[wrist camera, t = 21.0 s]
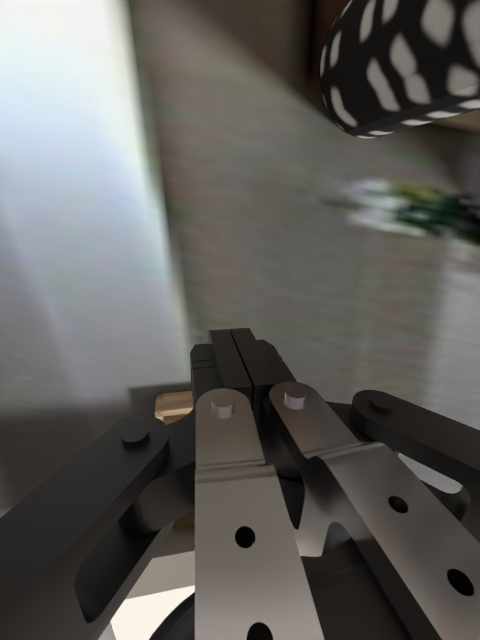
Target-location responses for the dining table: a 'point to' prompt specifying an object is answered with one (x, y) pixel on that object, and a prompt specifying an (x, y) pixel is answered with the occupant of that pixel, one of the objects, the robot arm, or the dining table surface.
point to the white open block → (159, 587)
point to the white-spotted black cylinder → (401, 64)
